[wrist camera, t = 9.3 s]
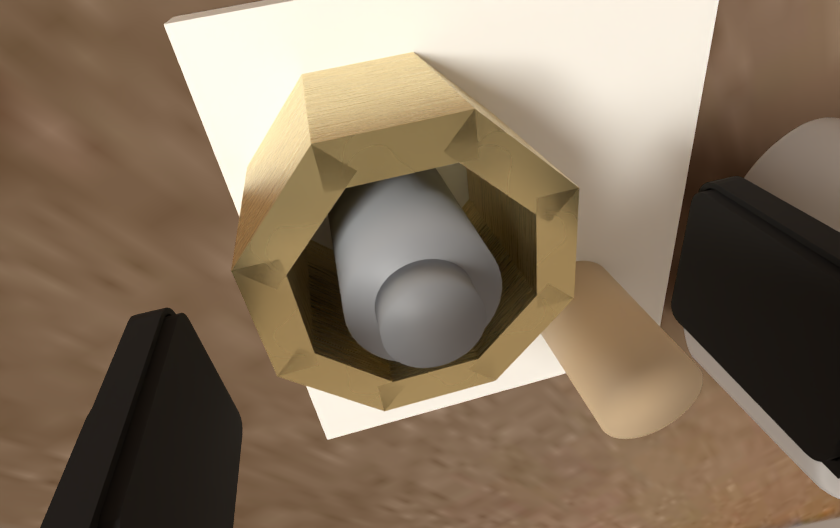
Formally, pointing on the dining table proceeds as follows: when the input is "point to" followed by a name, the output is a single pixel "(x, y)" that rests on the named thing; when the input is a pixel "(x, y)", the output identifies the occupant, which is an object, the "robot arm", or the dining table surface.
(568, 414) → the dining table surface
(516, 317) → the brass collar
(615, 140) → the post board
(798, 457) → the lumpy-topped squat cylinder
